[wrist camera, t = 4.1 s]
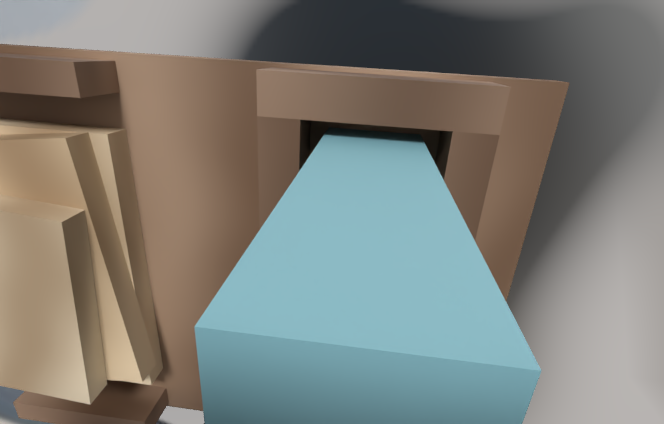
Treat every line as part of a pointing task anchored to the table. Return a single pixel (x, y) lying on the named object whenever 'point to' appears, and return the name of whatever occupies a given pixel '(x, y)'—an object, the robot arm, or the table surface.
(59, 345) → the birch offcut stack
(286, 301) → the teal panel
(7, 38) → the table surface
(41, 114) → the walnut rack
